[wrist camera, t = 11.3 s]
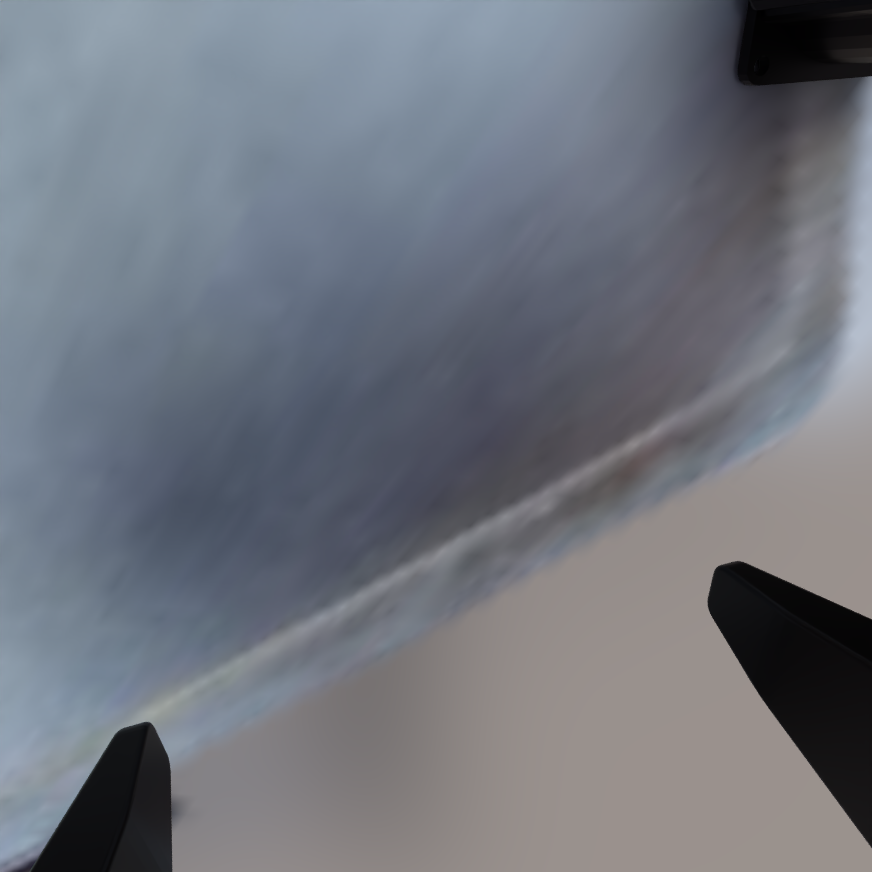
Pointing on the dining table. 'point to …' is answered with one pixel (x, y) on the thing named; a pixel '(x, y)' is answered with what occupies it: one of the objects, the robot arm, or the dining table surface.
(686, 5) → the dining table surface
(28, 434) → the dining table surface
